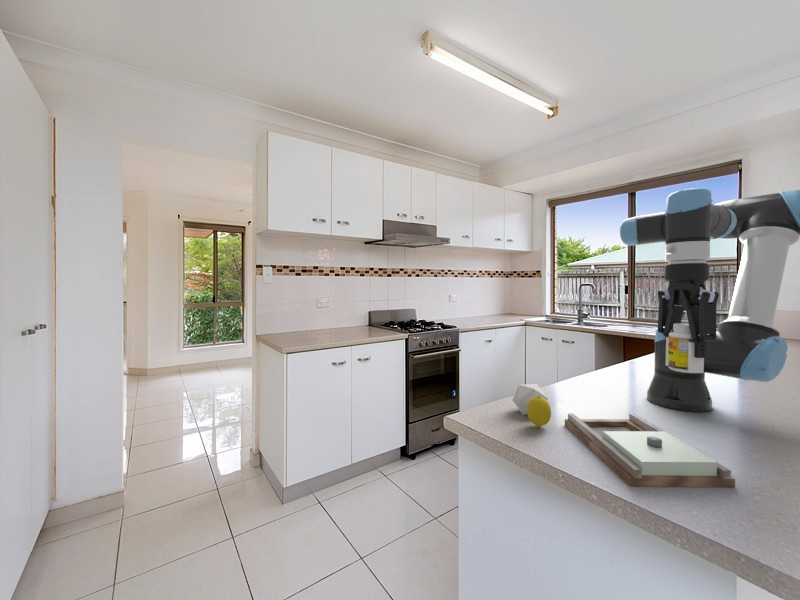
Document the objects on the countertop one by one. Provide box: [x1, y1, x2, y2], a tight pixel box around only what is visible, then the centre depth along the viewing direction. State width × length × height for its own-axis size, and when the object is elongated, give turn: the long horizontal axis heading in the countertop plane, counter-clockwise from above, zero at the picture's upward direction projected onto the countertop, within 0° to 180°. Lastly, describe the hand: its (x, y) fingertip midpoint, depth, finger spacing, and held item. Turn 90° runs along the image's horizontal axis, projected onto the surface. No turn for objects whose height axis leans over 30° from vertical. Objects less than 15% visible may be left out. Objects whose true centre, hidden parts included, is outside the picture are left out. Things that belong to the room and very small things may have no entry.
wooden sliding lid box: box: [564, 412, 736, 488], centre depth 75 cm, size 18×27×3 cm, turn 178°
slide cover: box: [603, 430, 718, 476], centre depth 69 cm, size 13×13×4 cm
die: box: [512, 383, 549, 416], centre depth 98 cm, size 8×9×10 cm
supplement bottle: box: [668, 322, 699, 373], centre depth 77 cm, size 6×6×10 cm
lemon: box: [527, 396, 552, 428], centre depth 88 cm, size 6×6×8 cm
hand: (683, 368), depth 77 cm, fingers closed on supplement bottle, 6 cm apart
